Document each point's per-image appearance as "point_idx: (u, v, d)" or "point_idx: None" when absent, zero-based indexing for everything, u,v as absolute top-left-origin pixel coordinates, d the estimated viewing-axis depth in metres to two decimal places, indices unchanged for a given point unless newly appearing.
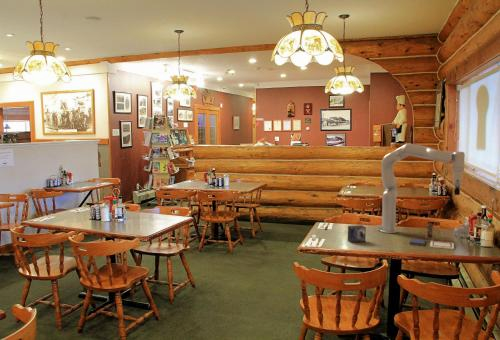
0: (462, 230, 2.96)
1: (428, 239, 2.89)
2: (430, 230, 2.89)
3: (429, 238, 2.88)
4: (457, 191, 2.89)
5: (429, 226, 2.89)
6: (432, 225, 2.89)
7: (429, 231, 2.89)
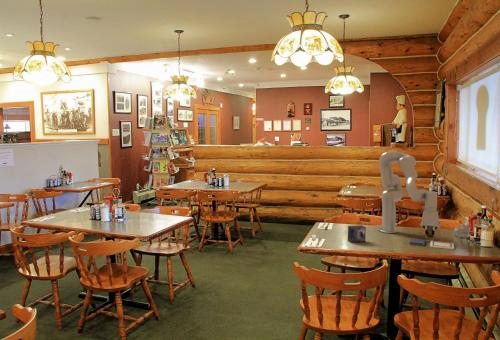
0: (462, 230, 2.96)
1: (428, 239, 2.89)
2: (430, 230, 2.89)
3: (429, 238, 2.88)
4: (434, 232, 2.90)
5: (429, 226, 2.89)
6: None
7: (429, 231, 2.89)
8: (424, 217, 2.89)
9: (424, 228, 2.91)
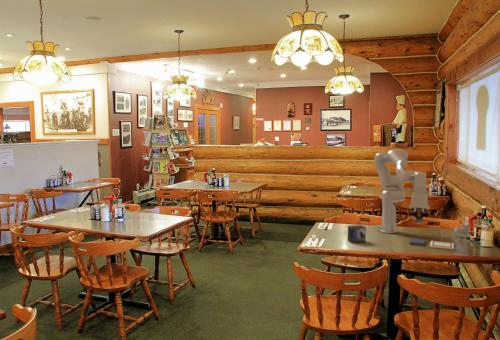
0: (462, 230, 2.96)
1: (417, 221, 2.80)
2: (419, 212, 2.80)
3: (418, 220, 2.79)
4: (423, 214, 2.81)
5: (418, 208, 2.80)
6: None
7: (418, 213, 2.80)
8: (413, 199, 2.80)
9: (413, 210, 2.82)
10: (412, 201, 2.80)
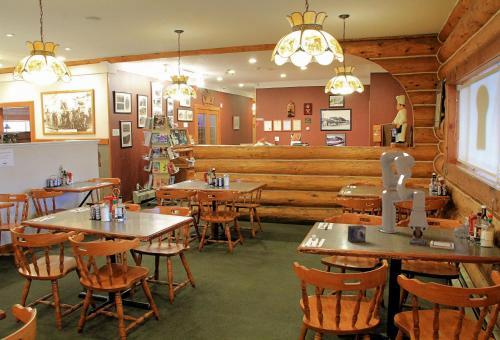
0: (462, 230, 2.96)
1: (416, 240, 2.81)
2: (418, 231, 2.81)
3: (417, 239, 2.80)
4: (422, 233, 2.81)
5: None
6: None
7: (417, 232, 2.81)
8: (412, 217, 2.81)
9: (412, 229, 2.83)
10: (411, 220, 2.81)
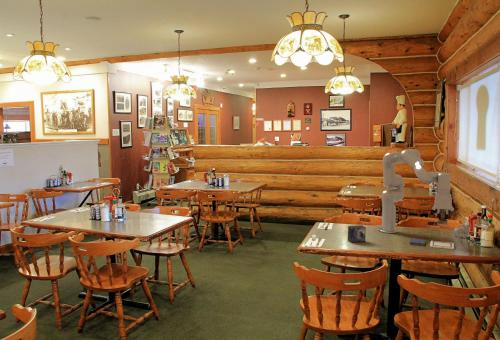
0: (462, 230, 2.96)
1: (441, 223, 2.73)
2: (443, 213, 2.74)
3: (442, 222, 2.73)
4: (447, 216, 2.74)
5: (442, 209, 2.73)
6: None
7: (442, 214, 2.74)
8: (436, 200, 2.74)
9: None
10: (436, 202, 2.74)
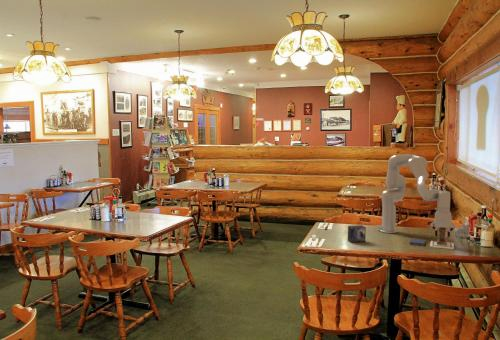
0: (462, 230, 2.96)
1: (440, 243, 2.74)
2: (442, 234, 2.75)
3: (441, 242, 2.74)
4: (449, 233, 2.74)
5: (441, 230, 2.74)
6: (444, 229, 2.74)
7: (441, 235, 2.75)
8: (436, 218, 2.74)
9: (434, 228, 2.77)
10: (435, 220, 2.75)
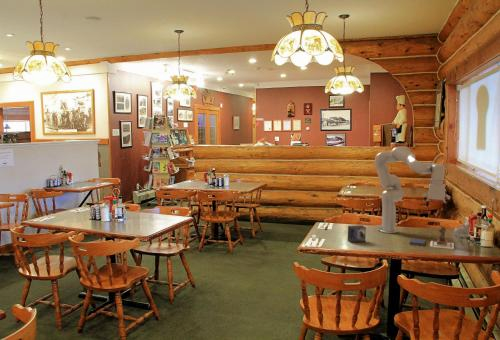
0: (462, 230, 2.96)
1: (440, 243, 2.74)
2: (442, 234, 2.75)
3: (441, 242, 2.74)
4: None
5: (441, 230, 2.74)
6: (444, 229, 2.74)
7: (441, 235, 2.75)
8: (430, 190, 2.81)
9: (426, 199, 2.85)
10: (429, 193, 2.82)
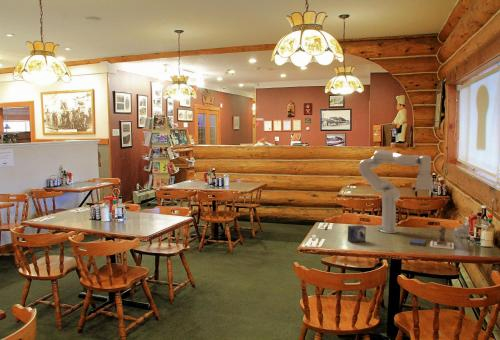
0: (462, 230, 2.96)
1: (440, 243, 2.74)
2: (442, 234, 2.75)
3: (441, 242, 2.74)
4: None
5: (441, 230, 2.74)
6: (444, 229, 2.74)
7: (441, 235, 2.75)
8: (418, 181, 2.96)
9: (414, 189, 2.99)
10: (417, 183, 2.96)
